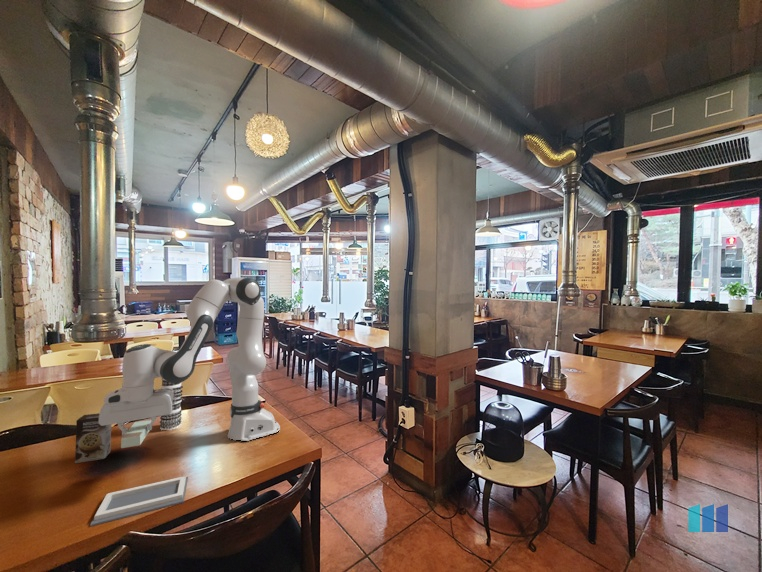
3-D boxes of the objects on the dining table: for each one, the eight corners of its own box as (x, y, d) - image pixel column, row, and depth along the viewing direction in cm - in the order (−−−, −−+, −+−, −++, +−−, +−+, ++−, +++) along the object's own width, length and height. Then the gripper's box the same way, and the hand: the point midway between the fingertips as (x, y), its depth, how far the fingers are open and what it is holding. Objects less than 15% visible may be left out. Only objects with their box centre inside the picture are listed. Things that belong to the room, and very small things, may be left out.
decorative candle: (182, 421, 155) (183, 371, 156) (182, 428, 148) (183, 375, 148) (159, 425, 151) (161, 373, 151) (158, 432, 143) (159, 378, 143)
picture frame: (187, 478, 109) (187, 473, 109) (183, 502, 96) (183, 497, 96) (106, 496, 99) (106, 491, 99) (90, 526, 86) (90, 520, 86)
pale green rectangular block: (151, 428, 116) (151, 419, 116) (140, 445, 103) (140, 435, 103) (134, 430, 114) (134, 421, 114) (121, 448, 101) (121, 438, 101)
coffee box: (74, 463, 117) (75, 420, 117) (82, 455, 123) (83, 414, 123) (104, 458, 121) (105, 417, 121) (111, 451, 126) (112, 411, 127)
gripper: (174, 385, 117) (173, 422, 117) (102, 394, 106) (101, 435, 106) (173, 389, 112) (172, 428, 111) (97, 399, 101) (96, 443, 101)
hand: (137, 431), depth 109 cm, fingers closed on pale green rectangular block, 5 cm apart
